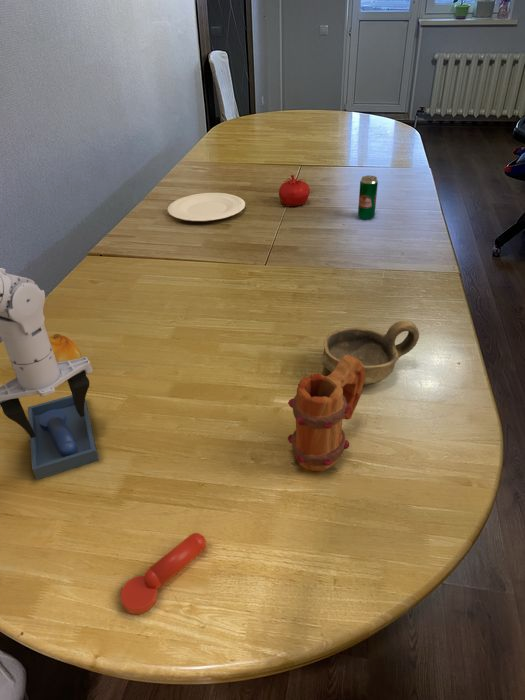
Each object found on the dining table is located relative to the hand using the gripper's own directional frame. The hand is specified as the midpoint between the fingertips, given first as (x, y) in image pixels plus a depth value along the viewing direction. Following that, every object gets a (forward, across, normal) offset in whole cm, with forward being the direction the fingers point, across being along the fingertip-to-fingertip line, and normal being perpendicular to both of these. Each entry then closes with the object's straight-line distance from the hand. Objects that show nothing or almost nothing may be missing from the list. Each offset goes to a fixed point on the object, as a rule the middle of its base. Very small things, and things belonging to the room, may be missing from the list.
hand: (56, 423), depth 81 cm
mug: (+5, +34, -26) cm, 43 cm away
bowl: (+5, +52, -15) cm, 54 cm away
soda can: (+5, +105, +40) cm, 112 cm away
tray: (+5, 0, +2) cm, 5 cm away
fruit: (+5, +6, +20) cm, 21 cm away
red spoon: (+5, +3, -30) cm, 31 cm away
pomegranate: (+5, +95, +64) cm, 115 cm away
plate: (+5, +70, +76) cm, 103 cm away
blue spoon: (+4, 0, +2) cm, 5 cm away
